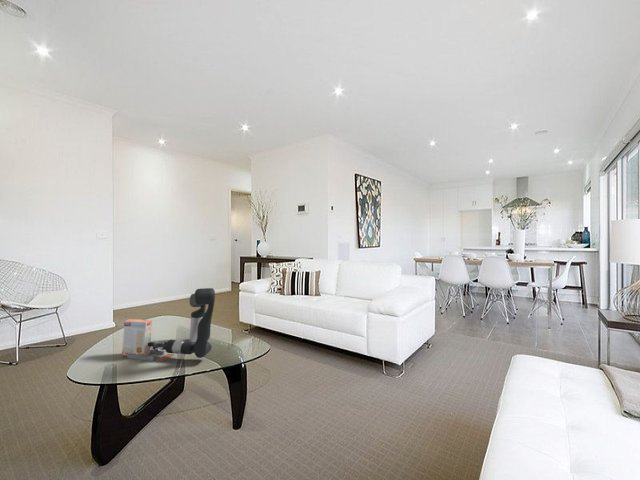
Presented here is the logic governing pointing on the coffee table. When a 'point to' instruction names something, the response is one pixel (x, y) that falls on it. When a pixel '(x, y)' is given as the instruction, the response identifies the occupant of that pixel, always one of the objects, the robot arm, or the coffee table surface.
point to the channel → (145, 356)
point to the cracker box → (137, 337)
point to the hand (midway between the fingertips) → (148, 344)
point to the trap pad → (164, 357)
